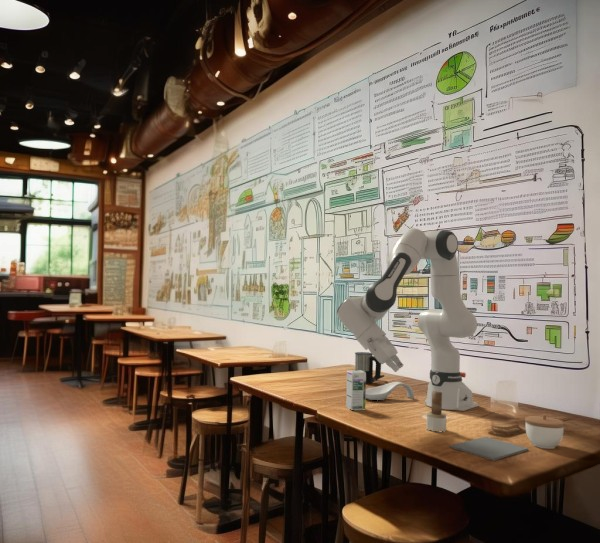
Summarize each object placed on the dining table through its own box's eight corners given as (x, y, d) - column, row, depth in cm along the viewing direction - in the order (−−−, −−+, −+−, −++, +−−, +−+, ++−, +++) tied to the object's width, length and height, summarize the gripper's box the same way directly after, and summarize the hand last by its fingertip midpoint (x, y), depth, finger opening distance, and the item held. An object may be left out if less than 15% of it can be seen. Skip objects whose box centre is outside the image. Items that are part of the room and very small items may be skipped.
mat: (485, 438, 163) (485, 436, 163) (528, 450, 152) (528, 448, 152) (450, 447, 152) (450, 445, 152) (493, 460, 141) (493, 458, 141)
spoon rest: (369, 403, 212) (370, 385, 212) (356, 397, 223) (356, 380, 223) (419, 401, 220) (419, 384, 221) (403, 395, 231) (404, 379, 232)
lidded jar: (552, 441, 163) (552, 411, 163) (571, 451, 152) (571, 419, 153) (518, 440, 163) (518, 410, 163) (535, 450, 152) (535, 418, 152)
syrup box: (351, 411, 195) (352, 372, 196) (345, 407, 201) (346, 369, 202) (365, 410, 197) (366, 371, 198) (359, 407, 203) (360, 369, 203)
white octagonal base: (434, 426, 176) (434, 413, 176) (449, 430, 171) (449, 416, 172) (422, 428, 172) (423, 415, 173) (437, 433, 168) (438, 419, 168)
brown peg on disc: (434, 413, 176) (435, 389, 177) (450, 416, 171) (450, 393, 172) (422, 415, 173) (423, 391, 173) (438, 419, 168) (438, 394, 168)
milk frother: (352, 383, 259) (353, 353, 260) (358, 378, 274) (359, 350, 275) (380, 385, 255) (381, 355, 255) (385, 380, 270) (386, 351, 270)
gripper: (372, 333, 170) (402, 366, 166) (383, 330, 189) (410, 359, 186) (359, 346, 171) (387, 379, 168) (371, 341, 191) (397, 371, 187)
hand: (399, 368), depth 177 cm, fingers open, 8 cm apart
